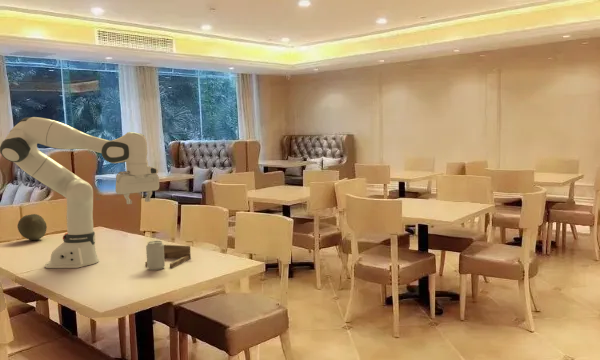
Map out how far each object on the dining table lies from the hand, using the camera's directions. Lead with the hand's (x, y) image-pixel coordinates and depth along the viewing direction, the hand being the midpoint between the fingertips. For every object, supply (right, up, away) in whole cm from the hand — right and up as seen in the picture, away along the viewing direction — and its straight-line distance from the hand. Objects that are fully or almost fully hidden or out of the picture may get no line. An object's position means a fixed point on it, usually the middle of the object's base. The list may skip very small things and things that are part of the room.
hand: (138, 202), depth 217 cm
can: (+6, -30, +7) cm, 31 cm away
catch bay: (+8, -28, +17) cm, 34 cm away
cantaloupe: (-83, -25, +72) cm, 112 cm away
